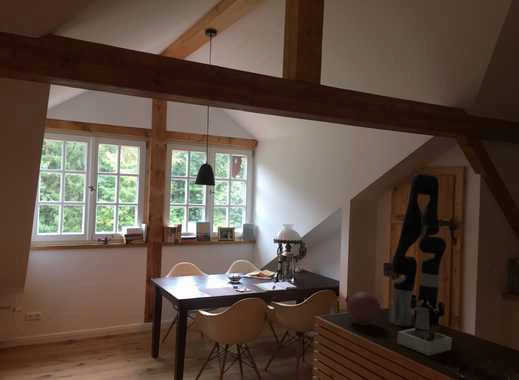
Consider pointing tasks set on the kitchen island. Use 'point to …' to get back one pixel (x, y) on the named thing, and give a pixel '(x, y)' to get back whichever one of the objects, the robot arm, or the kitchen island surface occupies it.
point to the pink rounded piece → (363, 308)
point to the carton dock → (424, 342)
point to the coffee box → (425, 323)
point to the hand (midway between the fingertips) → (425, 322)
